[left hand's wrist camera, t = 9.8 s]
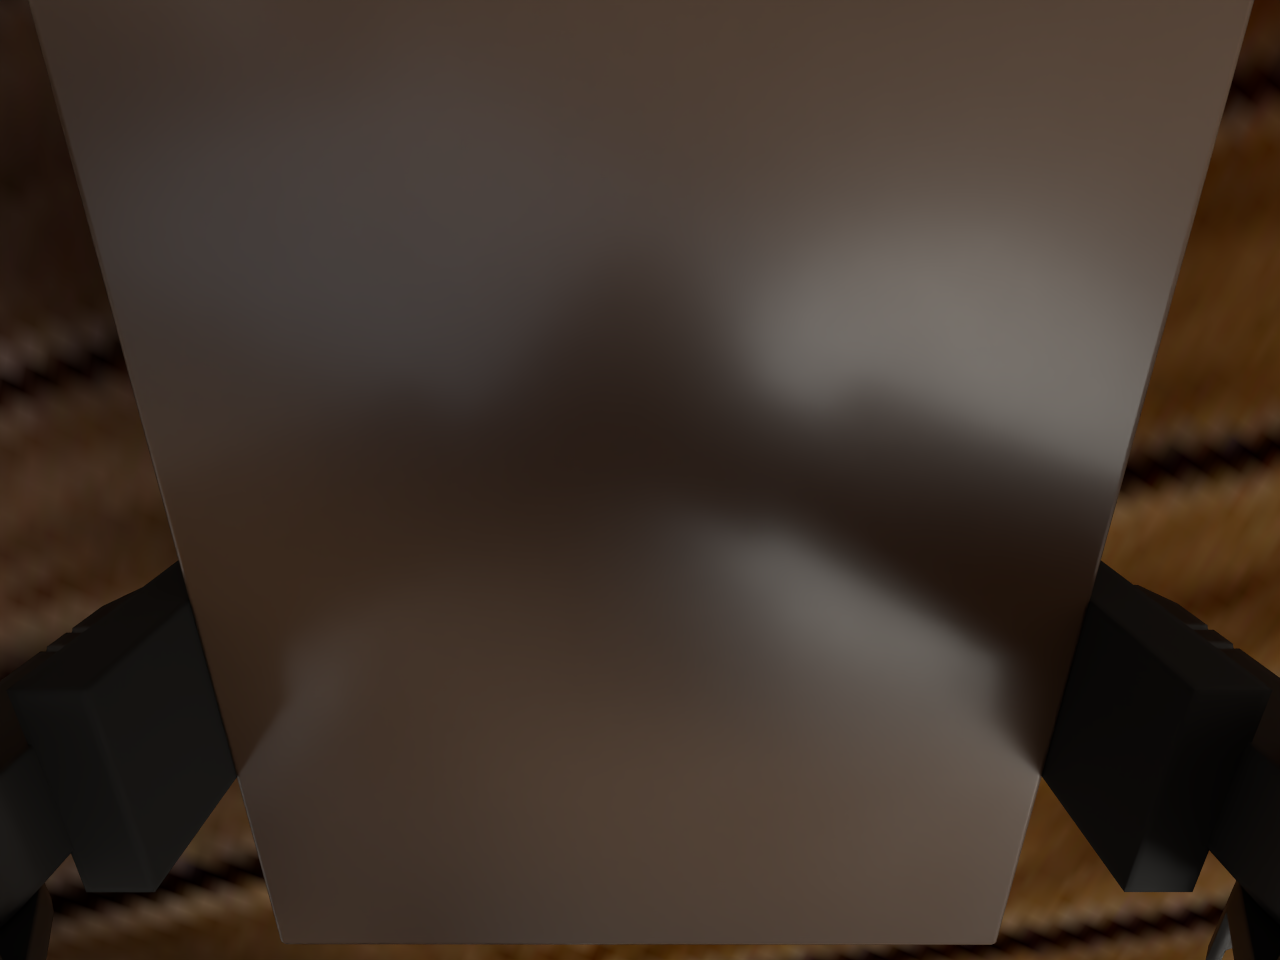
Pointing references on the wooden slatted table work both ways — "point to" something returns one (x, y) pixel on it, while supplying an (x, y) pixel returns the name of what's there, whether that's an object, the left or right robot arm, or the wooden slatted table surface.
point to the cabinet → (639, 430)
